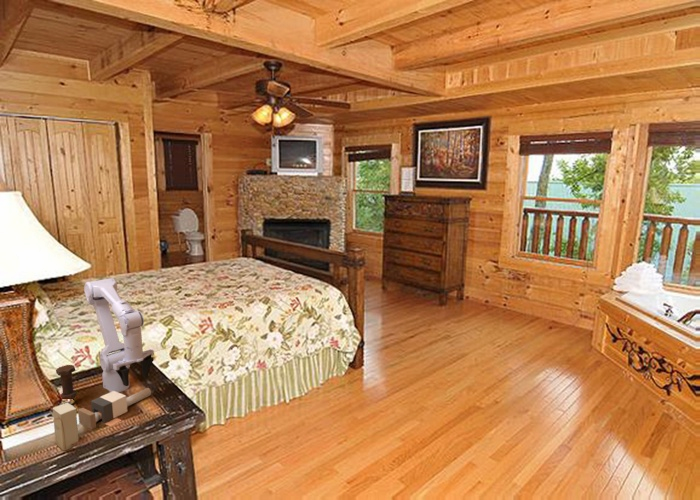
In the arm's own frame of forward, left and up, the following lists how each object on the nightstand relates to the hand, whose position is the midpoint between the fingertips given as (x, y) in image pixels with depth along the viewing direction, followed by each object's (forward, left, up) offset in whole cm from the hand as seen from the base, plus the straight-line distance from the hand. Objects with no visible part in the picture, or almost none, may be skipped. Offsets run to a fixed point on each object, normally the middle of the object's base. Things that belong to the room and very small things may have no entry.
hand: (136, 380), depth 149 cm
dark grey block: (0, -13, -8) cm, 15 cm away
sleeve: (0, -9, -8) cm, 12 cm away
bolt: (-19, -14, -9) cm, 25 cm away
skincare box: (+3, -26, -9) cm, 27 cm away
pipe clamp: (0, -8, -9) cm, 12 cm away
